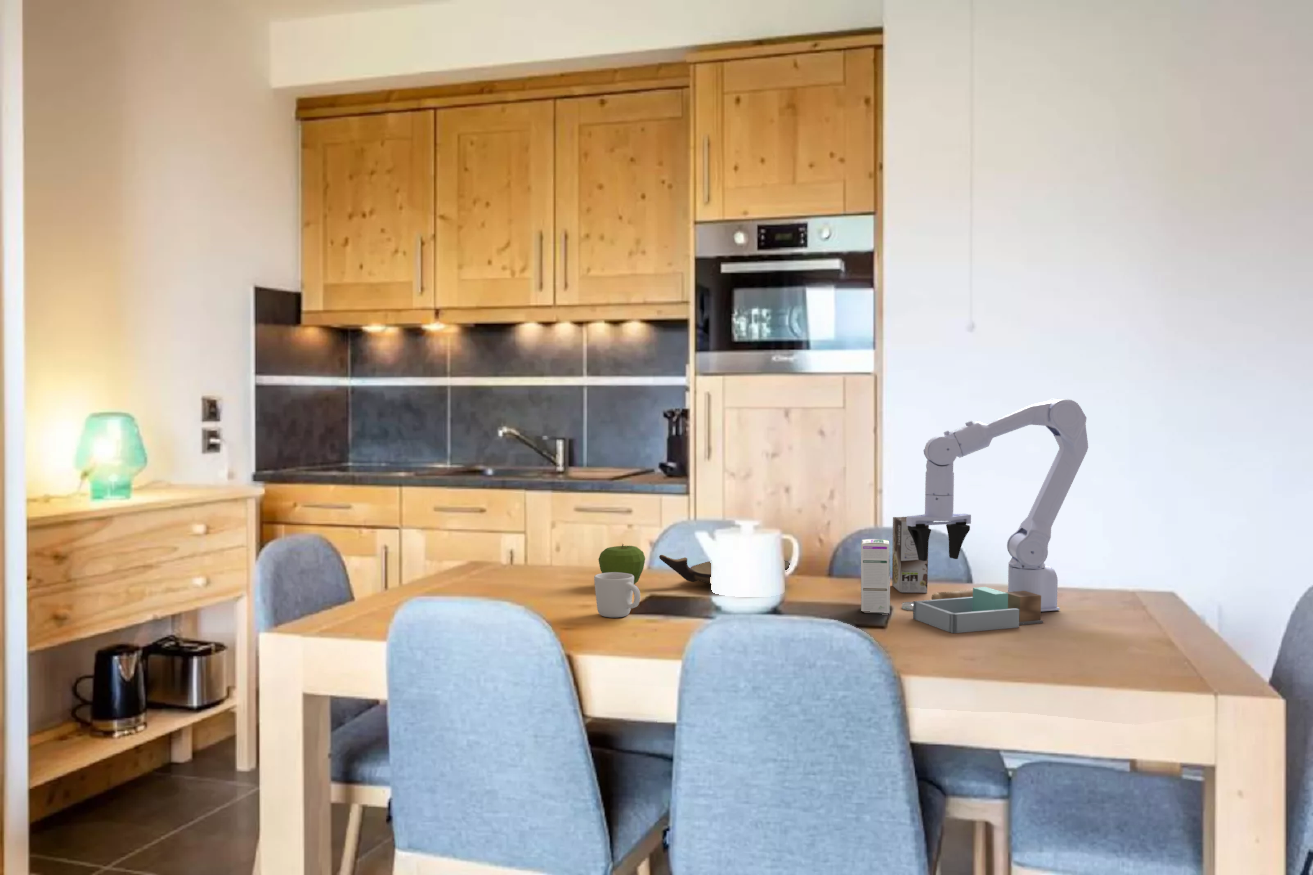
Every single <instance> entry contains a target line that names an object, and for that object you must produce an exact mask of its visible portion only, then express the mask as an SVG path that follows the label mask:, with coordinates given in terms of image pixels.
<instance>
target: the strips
mask: <svg viewBox="0 0 1313 875" xmlns="http://www.w3.org/2000/svg"><path fill="white" fill-rule="evenodd" d="M1036 623H1037V624H1043V623H1044V620H1036V621H1024V622H1019V626H1024V625H1035V624H1036Z"/></svg>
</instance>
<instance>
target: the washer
mask: <svg viewBox="0 0 1313 875" xmlns="http://www.w3.org/2000/svg"><path fill="white" fill-rule="evenodd" d="M901 609H902V610H905V611H910V612H913V601H905V602H902V603H901Z"/></svg>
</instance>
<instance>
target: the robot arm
mask: <svg viewBox="0 0 1313 875" xmlns="http://www.w3.org/2000/svg"><path fill="white" fill-rule="evenodd" d="M1086 423H1087V416H1086V415H1085V413H1084V411H1083V409H1082V407H1081V406H1080V405H1079V404H1078V402H1077V401H1075V400H1072V399H1069V398H1067V399H1066V398H1064V399H1061V398H1050V399H1048V400H1047V401H1041V402H1038V403H1033V404H1031V405H1027V406H1025V407H1022V408H1020V409H1018V410H1016V411H1014V412H1011V413H1008V414H1006V415H1004V416H1001V417H1000V418H996V419H994V420H993V421H990V422H988V423H984V422H982V421H978V420H977V421H974V422H973V421H972V420H968V421H966V422H965V425H964V426H961V427H959V428H957V429H954V430H951V431H950V430H946V431H945V430H944V432H943V434H944V436H933V437H932V438H930V439H929V440H927V442H926V443H925V446H924V449H923V455H924V457H925V458H926V464H925V467H926V471H925V483H924V484H925V488H924V490H925V491H924V492H925V494H924V495H925V496H924V498H925V499H924V514H916V515H907V516H906V517H907V518H906V525H907V526H908V531H909V532H910V534H911V536H912V538H913V541H914V543H915V547H916V550H917V554H918V559H919V560H922V561H927V556H928V557H929V542H928V541H930V536H931V532H932V529H930V528H929V529H928V528H927V527H925V525H929V526H935V525H936V526H938V525H945V526H946V530H947V536H948V555H949V559H953V560H958V559H959V555H960V552H961V548H962V547H963V546H962V545H963V543H964V541H965V538H966V537H967V535H968V533H969V532H970V531H971V524H972V514H969V513H954V501H955V500H954V494H955V493H954V492H955V487H954V486H955V484H954V483H955V473H954V462H955V460H956V459H957V457H958V458H959V459H960V458H963V457H965V456H968V455H971V454H973V453H976V452H979V451H981V450H983V449H987V448H988V447H989V446H990V444H991V442H992V440H993V439H994V438H997V437H999V436H1001V435H1005V434H1008V433H1010V432H1011V433H1012V432H1013V431H1016V430H1018V429H1021V428H1026V427H1027V426H1031V425H1033V426H1043V427H1044V426H1045V427H1046V428H1047V429H1048V430H1049V431H1050V432H1051V433H1052V434H1053V436H1054V439H1055V441H1056V442H1057V445H1058V447H1059V449H1058V451H1057V453H1056V455H1055V457H1054V460H1053V461H1052V464H1051V466H1050V468H1049V469H1048V473H1047V474H1046V476H1045V479H1044V481H1043V482H1042V485H1041V486H1040V489H1039V491H1038V493H1037V495H1036V498H1035V500H1034V502H1033V503H1032V504H1033V505H1032V507H1031V509H1030V511H1029V513H1028V515H1027V517H1025V519H1024V520H1023V521H1022V522H1021V523H1020V525H1019V527H1018V529H1017V530H1016V531H1015V532H1013V534H1011V535H1010V537H1009V538H1008V540H1007V543H1006V548H1007V551H1008V553H1009V555H1010V556H1011V559H1010V560H1009V562H1008V567H1007V568H1008V569H1007V572H1008V573H1007V574H1008V575H1007V576H1008V577H1007V592H1015V591H1027V592H1031V593H1034V594H1038V595H1041V612H1050V611H1052V612H1053V611H1060V607H1059V606H1058V589H1059V588H1058V586H1059V585H1058V581H1059V580H1058V576H1057V573H1056V571H1055V569H1054V568H1053V567H1052V566H1050V565H1047V564H1046V563H1045V562H1046V560H1047V559H1048V555H1049V550H1048V549H1049V548H1048V547H1049V544H1050V543H1049V542H1050V541H1051V538H1052V526H1053V524H1054V522H1055V520H1056V518H1057V517H1058V514H1059V512H1060V510H1061V508H1062V505H1063V503H1064V501H1065V499H1066V497H1067V495H1068V493H1069V491H1070V488H1071V487H1072V484H1073V482H1074V479H1075V478H1076V476H1077V474H1078V471H1079V469H1080V467H1081V465H1082V463H1083V461H1084V459H1085V456H1086V454H1087V452H1088V449H1089V442H1088V432H1087V425H1086Z"/></svg>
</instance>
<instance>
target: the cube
mask: <svg viewBox="0 0 1313 875" xmlns="http://www.w3.org/2000/svg"><path fill="white" fill-rule="evenodd" d="M1004 592H1005V593H1008V609H1012V608H1017V609H1019V622H1024V621H1036V620H1041V618H1042V616H1041V614H1042V613H1041V595H1038V594H1034V593H1031V592H1027V591H1015V592H1008V591H1004Z"/></svg>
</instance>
